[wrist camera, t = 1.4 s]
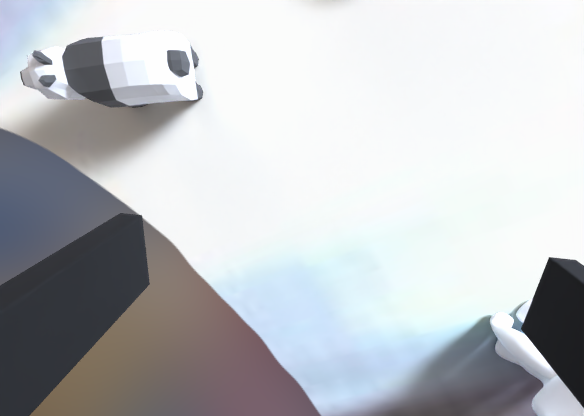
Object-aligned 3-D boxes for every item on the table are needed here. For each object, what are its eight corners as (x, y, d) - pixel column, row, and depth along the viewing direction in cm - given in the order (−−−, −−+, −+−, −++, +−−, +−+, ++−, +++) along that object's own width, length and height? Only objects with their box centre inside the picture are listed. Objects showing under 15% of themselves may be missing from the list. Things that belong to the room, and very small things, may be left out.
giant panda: (207, 45, 32) (165, 12, 23) (215, 103, 34) (178, 92, 24) (70, 60, 34) (-22, 33, 24) (83, 115, 35) (0, 110, 26)
